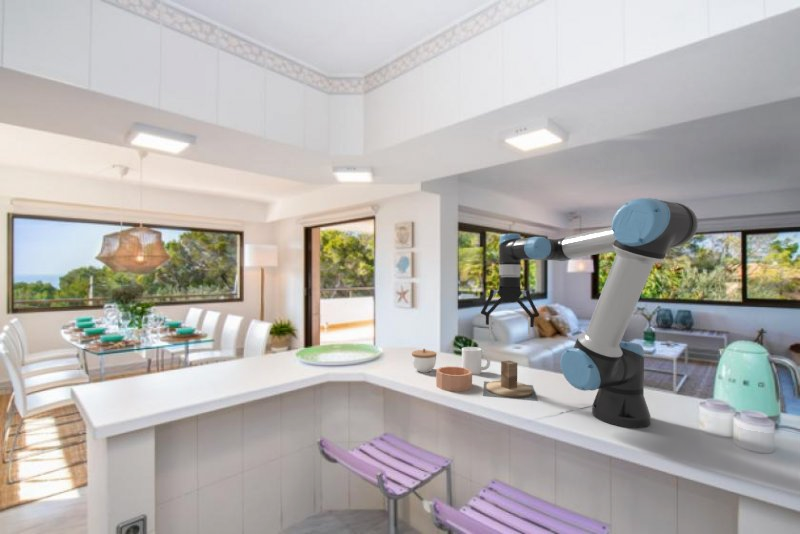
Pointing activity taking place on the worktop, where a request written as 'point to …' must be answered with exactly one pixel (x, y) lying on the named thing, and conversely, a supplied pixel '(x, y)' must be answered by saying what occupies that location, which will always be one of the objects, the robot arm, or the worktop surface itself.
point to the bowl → (453, 378)
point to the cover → (509, 383)
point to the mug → (474, 359)
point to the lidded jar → (424, 360)
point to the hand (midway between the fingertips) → (509, 335)
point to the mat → (531, 397)
